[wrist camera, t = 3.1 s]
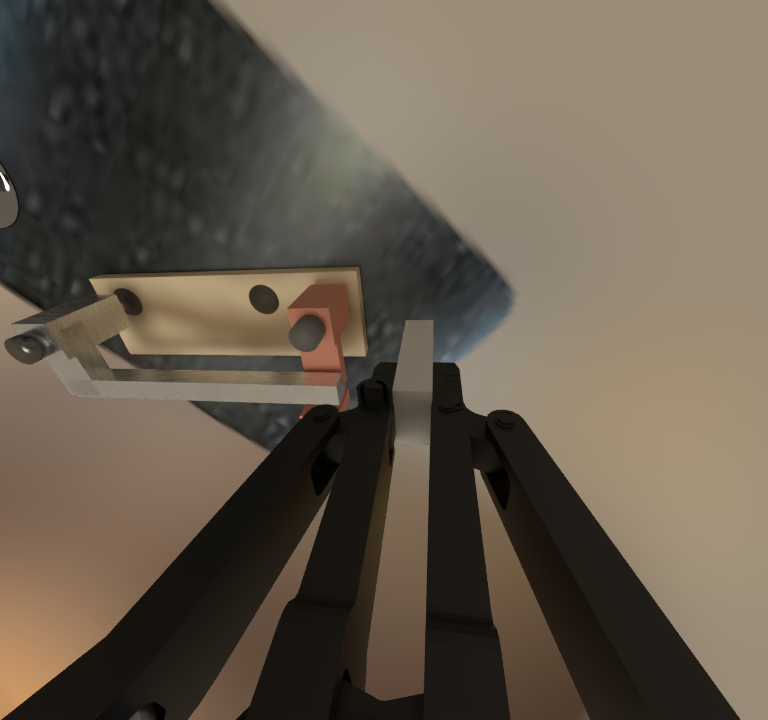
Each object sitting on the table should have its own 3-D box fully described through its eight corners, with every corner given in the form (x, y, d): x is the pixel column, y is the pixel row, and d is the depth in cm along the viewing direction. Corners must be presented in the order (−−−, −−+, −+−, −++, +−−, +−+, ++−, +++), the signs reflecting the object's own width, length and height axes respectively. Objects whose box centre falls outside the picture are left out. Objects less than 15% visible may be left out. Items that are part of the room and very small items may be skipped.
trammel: (106, 287, 26) (-13, 332, 19) (350, 281, 23) (315, 332, 16) (140, 351, 29) (49, 411, 22) (359, 353, 26) (332, 422, 19)
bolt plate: (101, 274, 27) (88, 279, 26) (359, 266, 24) (355, 271, 23) (140, 347, 30) (130, 354, 29) (368, 349, 27) (365, 356, 26)
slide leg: (311, 283, 23) (274, 321, 18) (346, 282, 23) (319, 320, 17) (328, 374, 27) (302, 427, 22) (358, 374, 27) (339, 429, 21)
